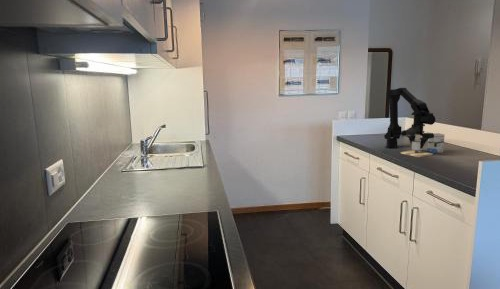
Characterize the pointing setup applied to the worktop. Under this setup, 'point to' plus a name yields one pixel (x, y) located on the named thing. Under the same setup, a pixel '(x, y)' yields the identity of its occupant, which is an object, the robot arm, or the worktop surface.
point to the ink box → (436, 143)
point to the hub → (416, 145)
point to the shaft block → (416, 153)
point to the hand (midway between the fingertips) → (416, 147)
